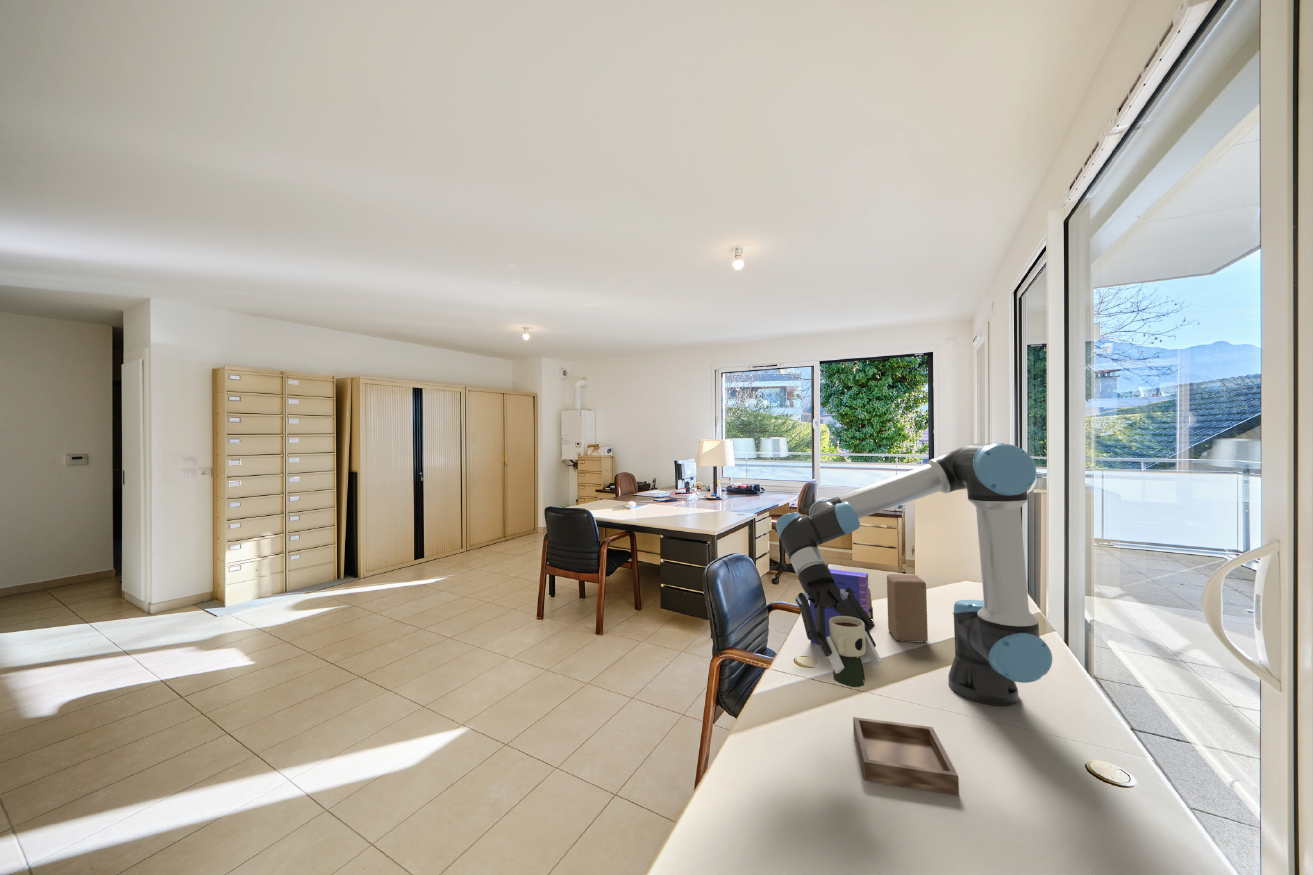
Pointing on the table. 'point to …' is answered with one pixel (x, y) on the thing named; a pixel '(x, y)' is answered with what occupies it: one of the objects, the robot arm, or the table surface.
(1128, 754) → the table surface
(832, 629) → the character mug
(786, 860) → the table surface
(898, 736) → the walnut tray
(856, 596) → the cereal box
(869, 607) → the ammunition clip
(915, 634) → the wooden block
